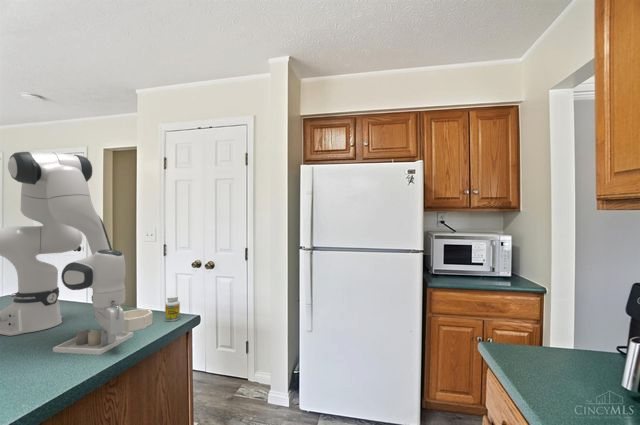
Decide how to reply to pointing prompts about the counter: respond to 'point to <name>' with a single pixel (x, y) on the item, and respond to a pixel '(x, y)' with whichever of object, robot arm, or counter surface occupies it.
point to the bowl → (137, 319)
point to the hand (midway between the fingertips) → (108, 340)
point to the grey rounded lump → (105, 339)
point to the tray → (85, 349)
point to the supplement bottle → (172, 308)
